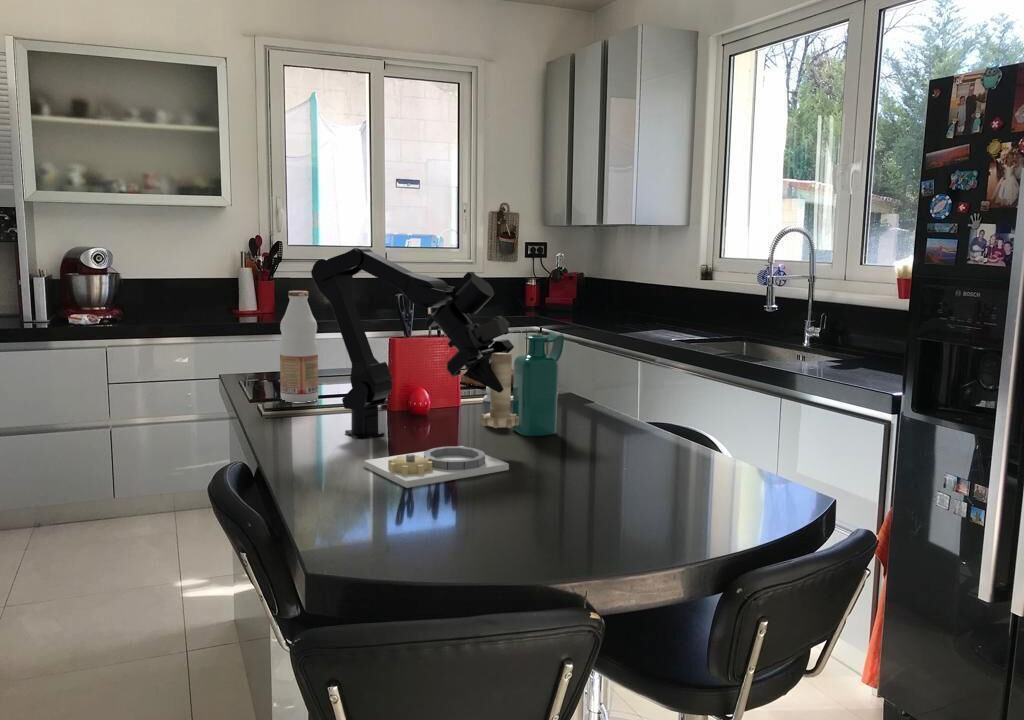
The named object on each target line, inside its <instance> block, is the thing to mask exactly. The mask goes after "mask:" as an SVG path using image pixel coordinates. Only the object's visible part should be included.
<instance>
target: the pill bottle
mask: <svg viewBox="0 0 1024 720" xmlns="http://www.w3.org/2000/svg"><path fill="white" fill-rule="evenodd" d="M485 393H486V394H485V395H484V396H483V398H482V414H488V413H489V412H490V396H491V388H489V387H487V386H486V388H485Z"/></svg>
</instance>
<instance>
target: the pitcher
mask: <svg viewBox="0 0 1024 720" xmlns="http://www.w3.org/2000/svg"><path fill="white" fill-rule="evenodd" d="M524 339H525V340H527V341H528V348H527V349H528V350H527V352H526V354H522V355H521V354H520V355H519V356H517V357H515V358H514V361H513V372H514V383H513V388H512V390H513V393H512V414H517V417H519V425H518V426H517V425H515V426H512V427H511V428H512V430H513V431H514V432H516V433H517V434H519V435H521V436H524V437H538V436H539V437H543V436H544V437H546V436H552V435H555V434H556V433H557V415H558V389H559V387H558V386H559V385H558V383H559V382H558V381H559V363H558V361H559V359H560V358H561V356H562V353H563V349H564V343H565V336H564V335H562V334H558V333H555V332H551V333H550V332H549V333H548V334H547V335H543V334H527V335H525V336H524ZM545 343H552V347H551V349H550V352H549V354H548V355H547V354H546V352H545V349H546V348H545Z"/></svg>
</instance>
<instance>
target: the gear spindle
mask: <svg viewBox="0 0 1024 720" xmlns="http://www.w3.org/2000/svg"><path fill="white" fill-rule="evenodd" d="M512 359H513V354H512V353H510V352H509V353H492V355H491V369H492V371H493V372H494V374H495V375H496V377H497V379H498V380H499V382H500V383H501V385H502V387H503V389H504V390H503V391H502V392H501V393H499V392H497V391H495V390H493V389H491V396H490V412H489V413H488V414H483V413H482V414H481V415H480V418H481V419H480V422H481V424H482V426H484V427H492V428H494V429H498V428H508V429H509V428H512V426H515V425H517V426H518V425H519V417H517V414H513V413H511V401H512V399H511V393H512V388H511V370H512V361H513V360H512Z"/></svg>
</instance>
